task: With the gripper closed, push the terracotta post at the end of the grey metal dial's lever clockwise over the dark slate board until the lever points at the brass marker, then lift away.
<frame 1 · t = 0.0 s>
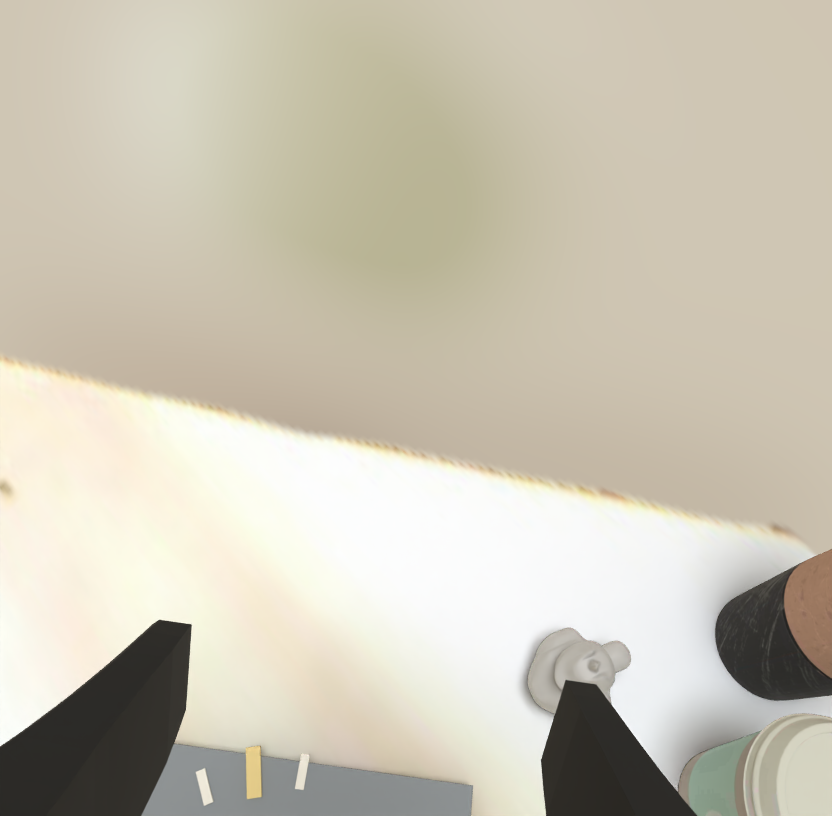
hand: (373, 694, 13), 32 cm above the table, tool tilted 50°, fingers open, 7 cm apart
coffee cup: (721, 802, 42), on the table
grey animal figurine: (566, 677, 45), on the table
travel mug: (762, 646, 47), on the table
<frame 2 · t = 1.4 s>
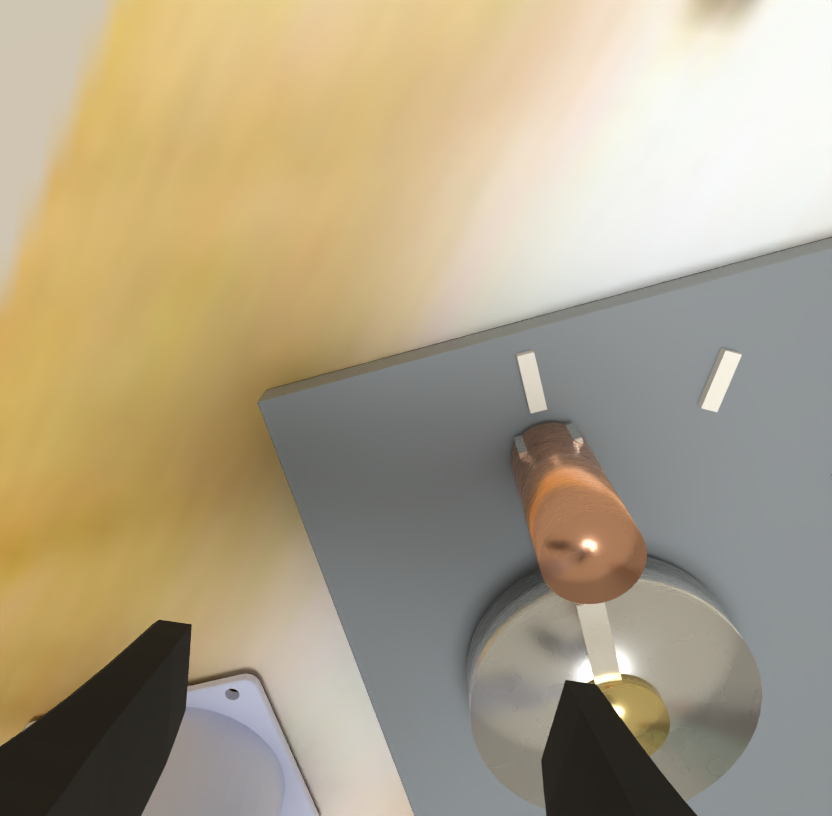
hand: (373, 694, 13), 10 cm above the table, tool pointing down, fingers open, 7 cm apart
board: (625, 607, 24), on the table
dial: (607, 670, 20), point 4 cm above the table, hinge at 90.0°
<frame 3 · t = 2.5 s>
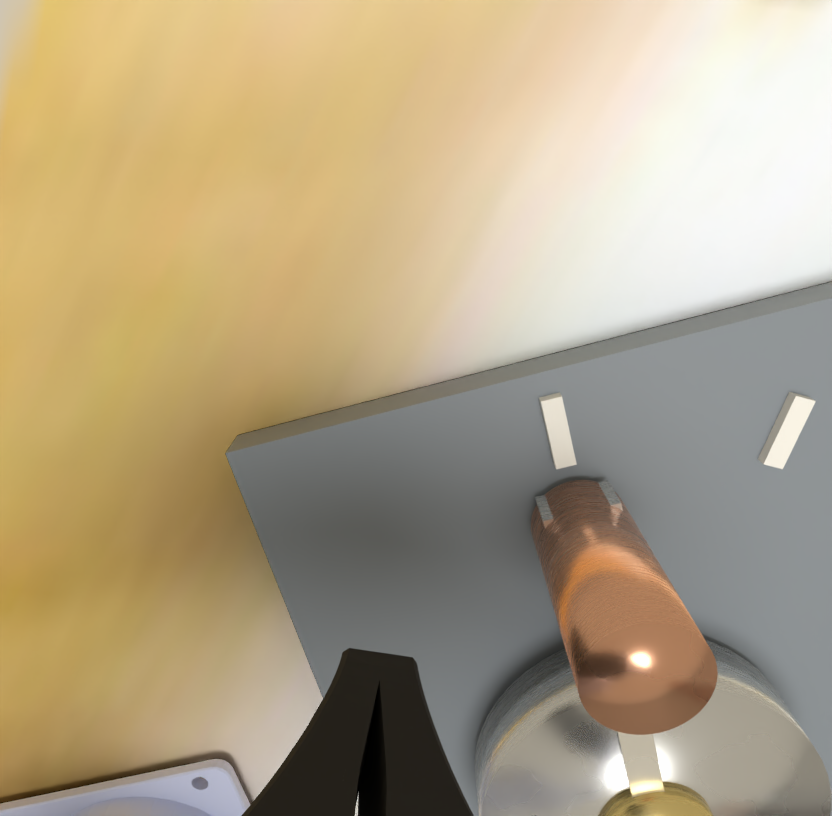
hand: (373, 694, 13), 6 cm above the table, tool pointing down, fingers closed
board: (661, 686, 20), on the table
dial: (648, 783, 16), point 4 cm above the table, hinge at 90.0°
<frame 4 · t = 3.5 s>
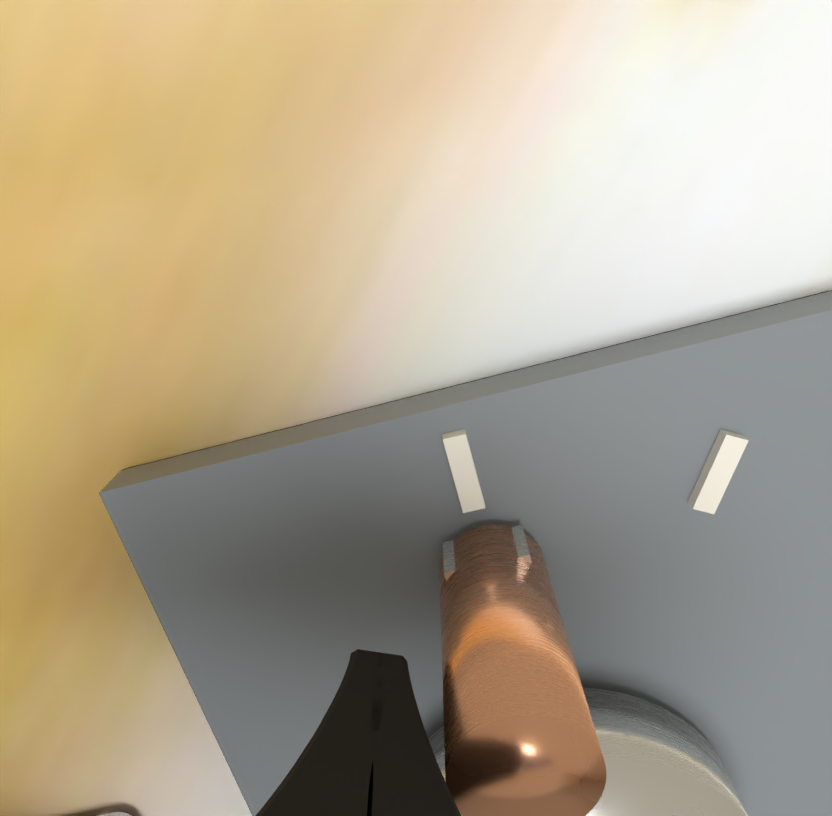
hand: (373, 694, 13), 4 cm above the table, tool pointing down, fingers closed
board: (595, 738, 19), on the table
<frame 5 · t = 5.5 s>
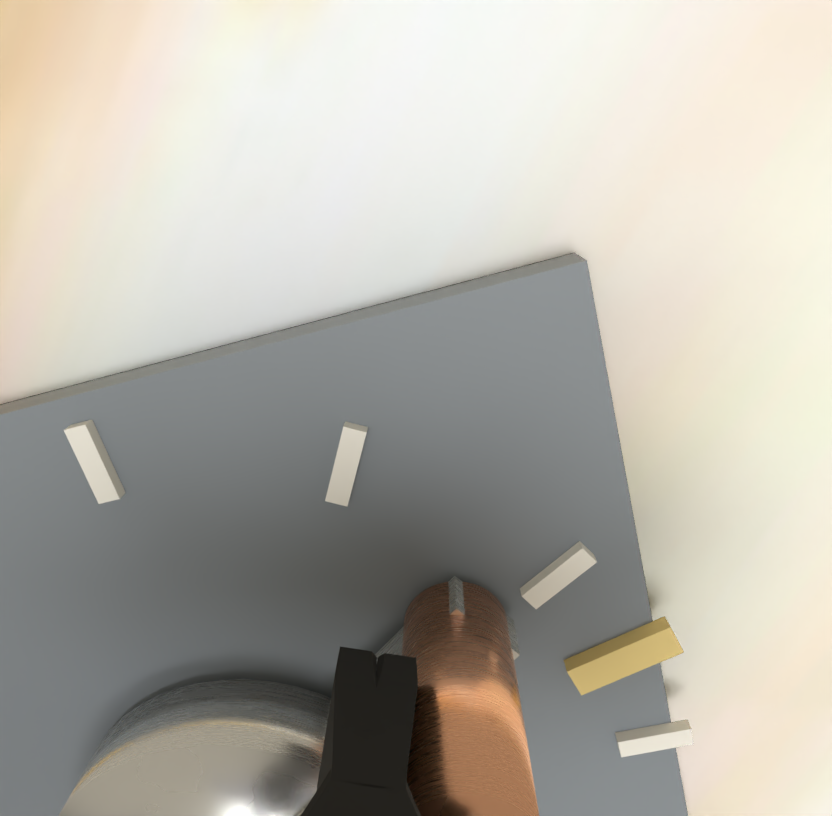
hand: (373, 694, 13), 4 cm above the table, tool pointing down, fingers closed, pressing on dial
board: (308, 732, 19), on the table
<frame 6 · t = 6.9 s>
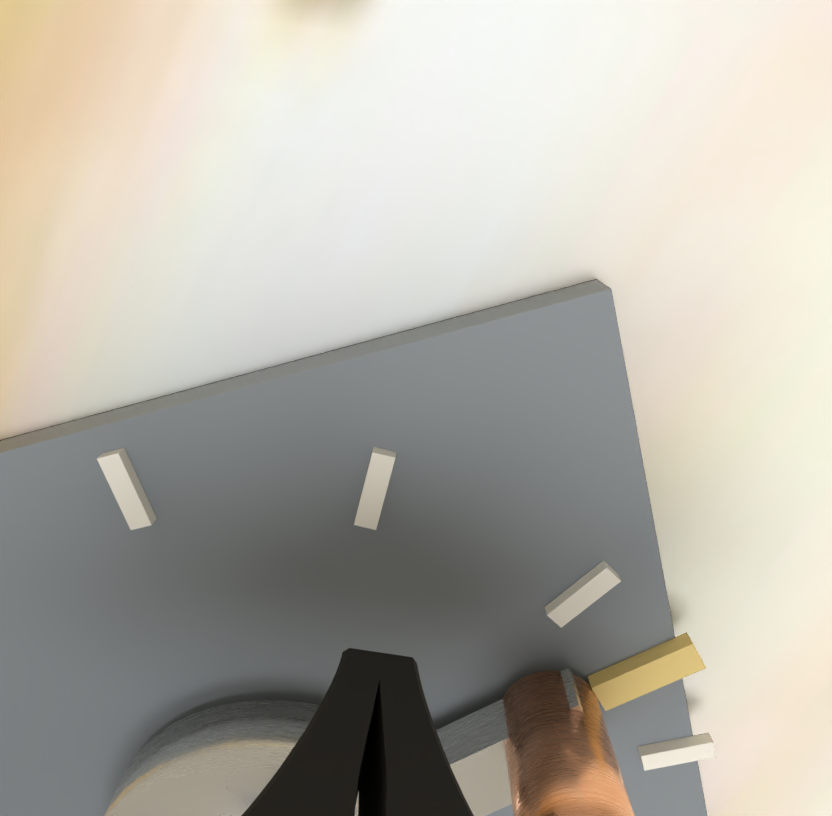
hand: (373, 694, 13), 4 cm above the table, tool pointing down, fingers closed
board: (333, 748, 19), on the table
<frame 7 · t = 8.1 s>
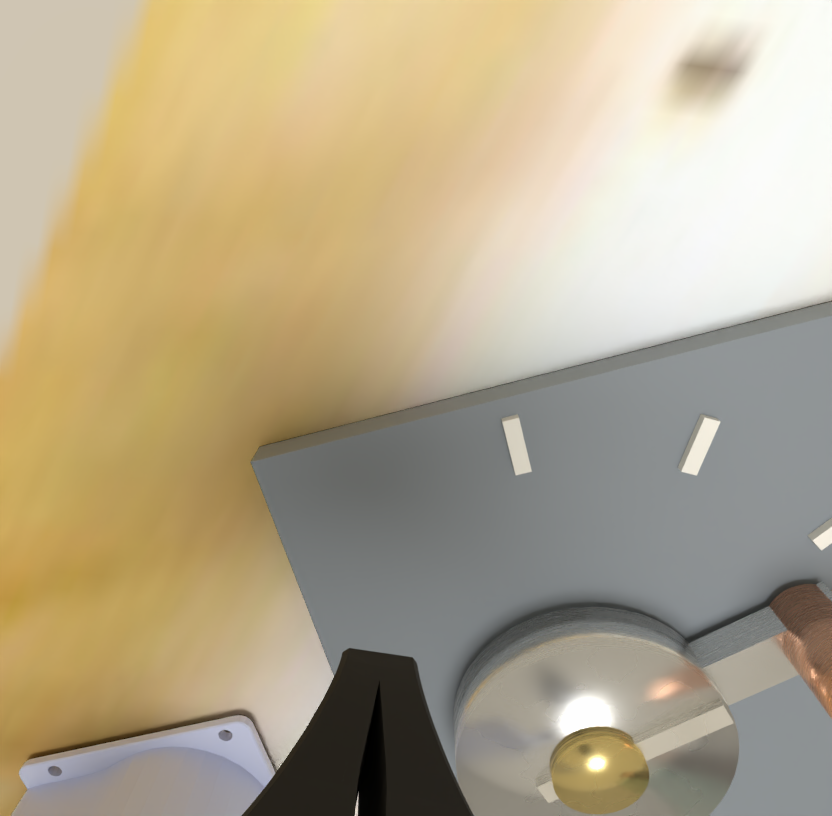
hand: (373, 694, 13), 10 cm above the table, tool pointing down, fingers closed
board: (609, 654, 25), on the table
dial: (671, 753, 21), point 4 cm above the table, hinge at 16.6°
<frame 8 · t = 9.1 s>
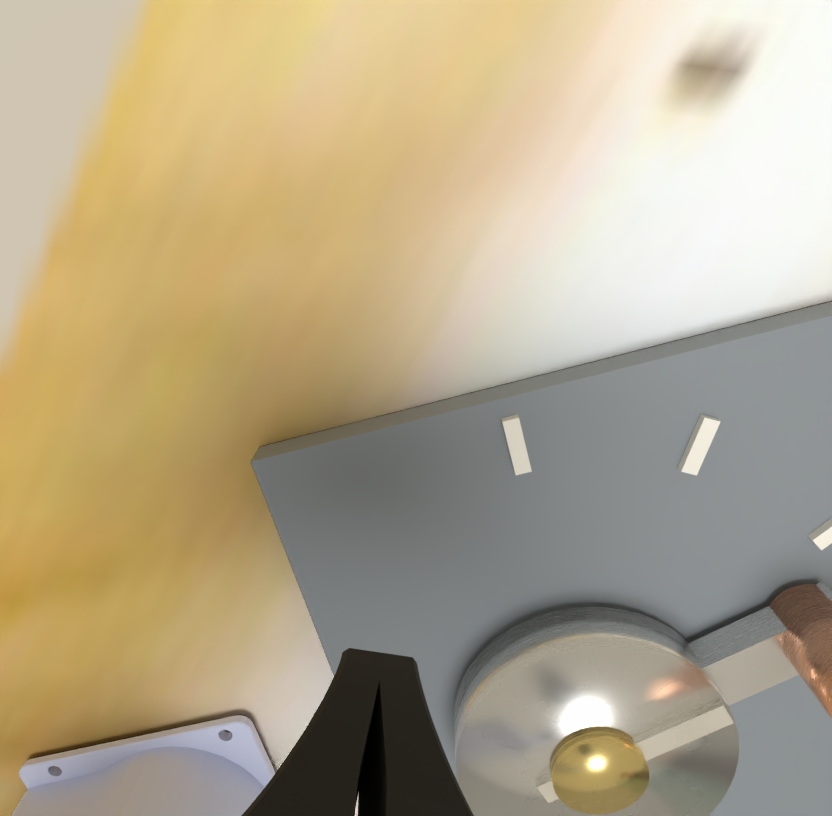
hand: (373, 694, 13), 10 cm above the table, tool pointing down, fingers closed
board: (609, 654, 25), on the table
dial: (671, 753, 21), point 4 cm above the table, hinge at 16.6°
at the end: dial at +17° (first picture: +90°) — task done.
